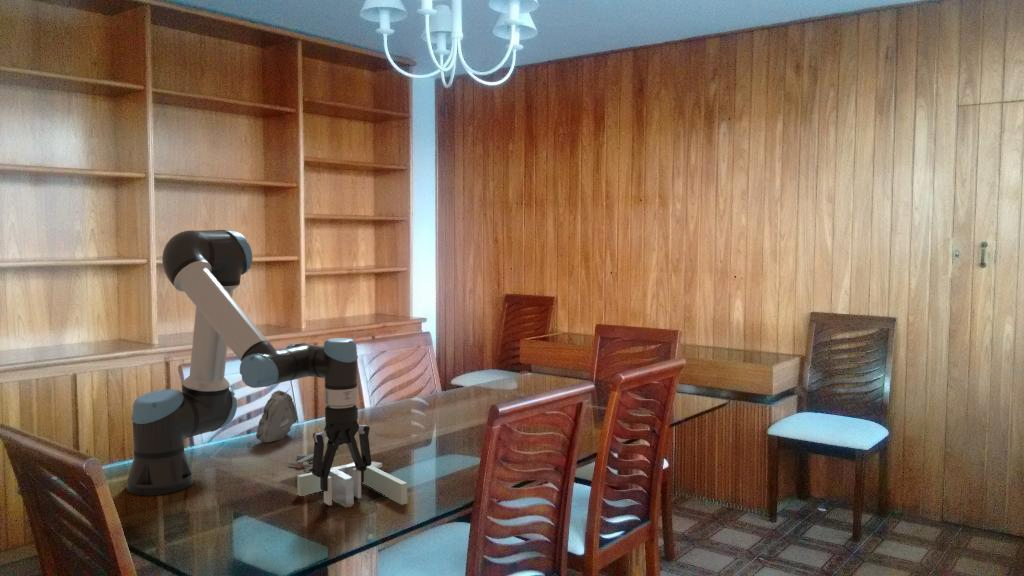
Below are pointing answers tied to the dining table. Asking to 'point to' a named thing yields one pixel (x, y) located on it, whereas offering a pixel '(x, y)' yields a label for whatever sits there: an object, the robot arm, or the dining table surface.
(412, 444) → the dining table surface
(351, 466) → the bracket
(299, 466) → the clamp
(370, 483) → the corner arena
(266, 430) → the decorative rock
